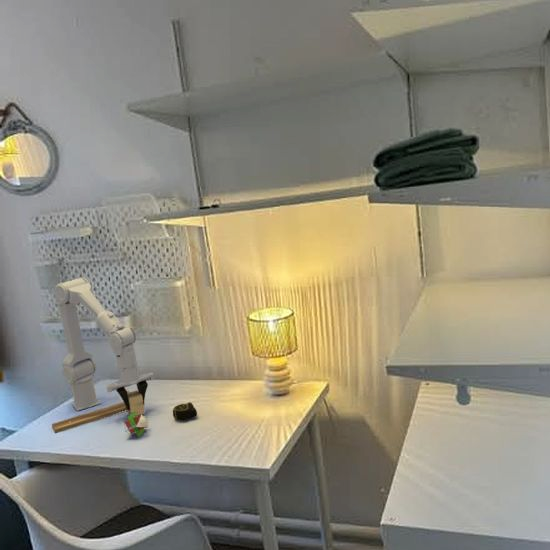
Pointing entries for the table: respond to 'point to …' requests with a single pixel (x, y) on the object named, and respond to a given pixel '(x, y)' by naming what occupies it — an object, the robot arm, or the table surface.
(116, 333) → the robot arm
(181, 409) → the tape measure
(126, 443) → the table surface
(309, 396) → the table surface
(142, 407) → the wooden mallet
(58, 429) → the brown wooden flat strip
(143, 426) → the geometric puzzle
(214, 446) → the table surface
